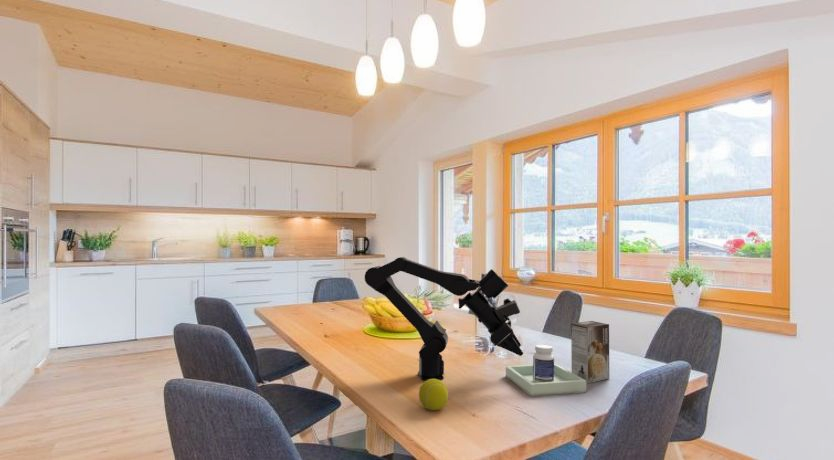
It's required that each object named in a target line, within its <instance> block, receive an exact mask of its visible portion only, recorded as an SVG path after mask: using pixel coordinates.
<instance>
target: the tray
mask: <svg viewBox="0 0 834 460" xmlns="http://www.w3.org/2000/svg"><path fill="white" fill-rule="evenodd" d="M505 377H506V378H508V380H509V381H511V382H512V383H513V384H515V385H516V386H517V387H518V388H520V389H521V390H523V392H525V393H527V394H528V395H529V396H530V397H540V396H551V395H565V394H577V393H578V394H579V393H587V383H586V380H584V379H582V378H580V377H579V376H577V375H575V374H573V373H572V371H571V370H568V369H566V368H564V367H562V366H560V365H559V364H557V363H555V362H554V382H542V383H536V382H534V381H533V364H523V365H522V364H521V365H519V364H518V365H506V366H505Z"/></svg>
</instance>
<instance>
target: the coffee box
mask: <svg viewBox="0 0 834 460" xmlns="http://www.w3.org/2000/svg"><path fill="white" fill-rule="evenodd" d="M570 328H571V330H570V331H571V332H570V336H571V339H570V340H571V345H570V347H571V349H570V350H571V373H573V374H575V375H577V376H579V377H580V378H582V379H584V380H586V384H591V383H596V382H599V381H604V380H609V379H610V324H608V323H603V322H600V321H594V320H590V321H589V320H588V321H580V322H573V323H571V324H570Z"/></svg>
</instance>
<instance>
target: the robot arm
mask: <svg viewBox="0 0 834 460" xmlns="http://www.w3.org/2000/svg"><path fill="white" fill-rule="evenodd" d="M399 272H403V273H406V274H407V275H411V276H414V277H417V278H420V279H423V280H426V281H428V282H431V283H433V284H437V285H438V286H440V287H441V288H443V289H444V290H445V291H447V292H449V293H451V294H453V295H455V296H459V297H460V298H458V299H457V301H458V309H462V308H463V307H464V306H465V307H466V308H467V309H468V310H469V311H470V312H471V313H472V314H473V315H474V316H475V317H476V318H477V321H478V322H479V323H482V325H483V326H484V328H486V329H487V332H489V334H490V342H491V343H492V344H493V345H494V346H496V347H499V348H502V349H504V350H506V351H509V352H511V353H512V354H515V355H517V356H520V357H522V356H523V355H524V352H523V351H522V349H521V346H522V344H521V342H520V341H519V339H518V338H517V336H516V335H515V333H514V330H513V328H512V321H511V318H510V317H511V316H514V315H518V314H520V313H521V311H520V308H519V306H518V303H517V302H516V300H514V299H513V300H511V299H510V298H508V297H507V298H505V299H503V304H501V305H499V306H498V307H497V305H496V304H492V303H491V302H490V301H489V300H488V299H492V298H493V299H496V298H497V297H498V296H499V295H500V294H502V292H504V291H505V290H506V289H507V288H508V287H509V286H510V285H509V284H508V282H506V281H505V279H503V277H502V276H500V275H499V274H498V273H497V272H496V271H495V270H494V269H493V268H491V269H490V270H489V271H488V272H487V273H486V274H485V275H484V276H483V277H482V278H481V279H480V280H477V279H471V278H468V276H466V275H465V274H463V273H456V272H447V271H442V270H439V269H436V268H433V267H431V266H427V265H425V264H421V263H419V262H417V261H413V260H411V259H408V258H407V257H405V256H404V257H403V256H400V257H397V258H395V259H394V260H392V261H390V262H387V263H386V264H384V265H382V266H381V265H377V266H373V267H369V268H368V269H367V270H366V271H365V273H364V281H365V283H366V285H367V286H369V287H370V288H372V289H373V290H374V291H375V292H377V293H379V294H380V295H383V296H384V297H385V298H386V299H388V301H389V302H390V303H391V304H392V305H393V306H394V307H395V309H397V310H398V312H399V313H401V315H403V317H404V318H405V319H406V320H407V321H408V322H409V323H410V324H411V325H412V326H413V327H414V328H415V329H416V331H417V332H418V334H419V336H420V338H421V340H422V342H423V344H422V346H421V348H420V349H419V351H418V356H419V357H418V358H419V359H418V361H419V362H418V365H419V368H418V371H417V375H418V376H419V378H420V379H421V380H422V381H426V380H428V379H438V380H444V375H445V373H444V372H445V361H444V360H443V355H442V354H441V353H442V352H444V350H445V349H446V347H447V345H448V341H449V335H448V333H447V329H446V328H444V327H443V326H442V324H440V322H439V321H438V320H435V322H432V321H430V320H428V319H427V318H426V316H425V315H423V314H422V313H421V311H419V309H417V307H416V306H415V305H414V304H413V303H412V301H410V299H408V297H406V295H405V294H404V293H403V292H402V291H401V290H400V289H399V288H398V286H396V284H395V282H394V280H393V278H392V276H393V275H395V274H398V273H399ZM473 291H474V292H473ZM471 292H473V293H471ZM481 292H482V293H481ZM484 295H485V296H486V297H487V298H488V299H487V298H486V297H485V296H484ZM461 296H464V297H463V298H461Z"/></svg>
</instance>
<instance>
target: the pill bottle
mask: <svg viewBox="0 0 834 460" xmlns="http://www.w3.org/2000/svg"><path fill="white" fill-rule="evenodd" d="M534 347H535V352H534V354H533V355H532V365H533V381H534V382H536V383H542V382H554V363H555V356H554V355H553V354H552V353H553V350H554V349H553V346H551V345H547V344H536V345H535V346H534Z"/></svg>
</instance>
